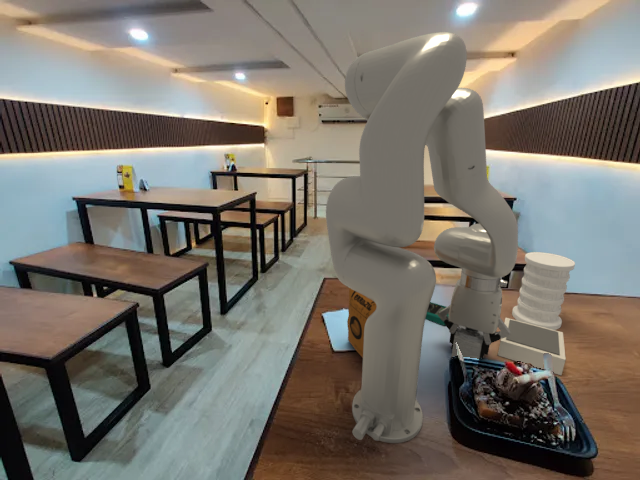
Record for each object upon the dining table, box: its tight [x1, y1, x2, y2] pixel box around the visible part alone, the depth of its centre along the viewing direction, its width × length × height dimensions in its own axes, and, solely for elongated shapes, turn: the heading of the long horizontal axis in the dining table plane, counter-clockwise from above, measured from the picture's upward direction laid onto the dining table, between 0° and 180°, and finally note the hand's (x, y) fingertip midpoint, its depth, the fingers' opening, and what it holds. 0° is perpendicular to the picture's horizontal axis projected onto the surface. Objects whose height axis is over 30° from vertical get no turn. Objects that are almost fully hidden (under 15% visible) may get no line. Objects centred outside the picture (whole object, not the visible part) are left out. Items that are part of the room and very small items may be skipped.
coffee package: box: [346, 287, 377, 359], centre depth 72 cm, size 10×12×22 cm
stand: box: [497, 317, 567, 376], centre depth 75 cm, size 12×12×4 cm
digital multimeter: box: [425, 301, 449, 327], centre depth 92 cm, size 7×15×3 cm, turn 51°
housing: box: [451, 325, 484, 359], centre depth 73 cm, size 8×6×7 cm
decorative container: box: [511, 251, 576, 331], centre depth 86 cm, size 12×12×18 cm
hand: (467, 350), depth 74 cm, fingers closed on housing, 5 cm apart
